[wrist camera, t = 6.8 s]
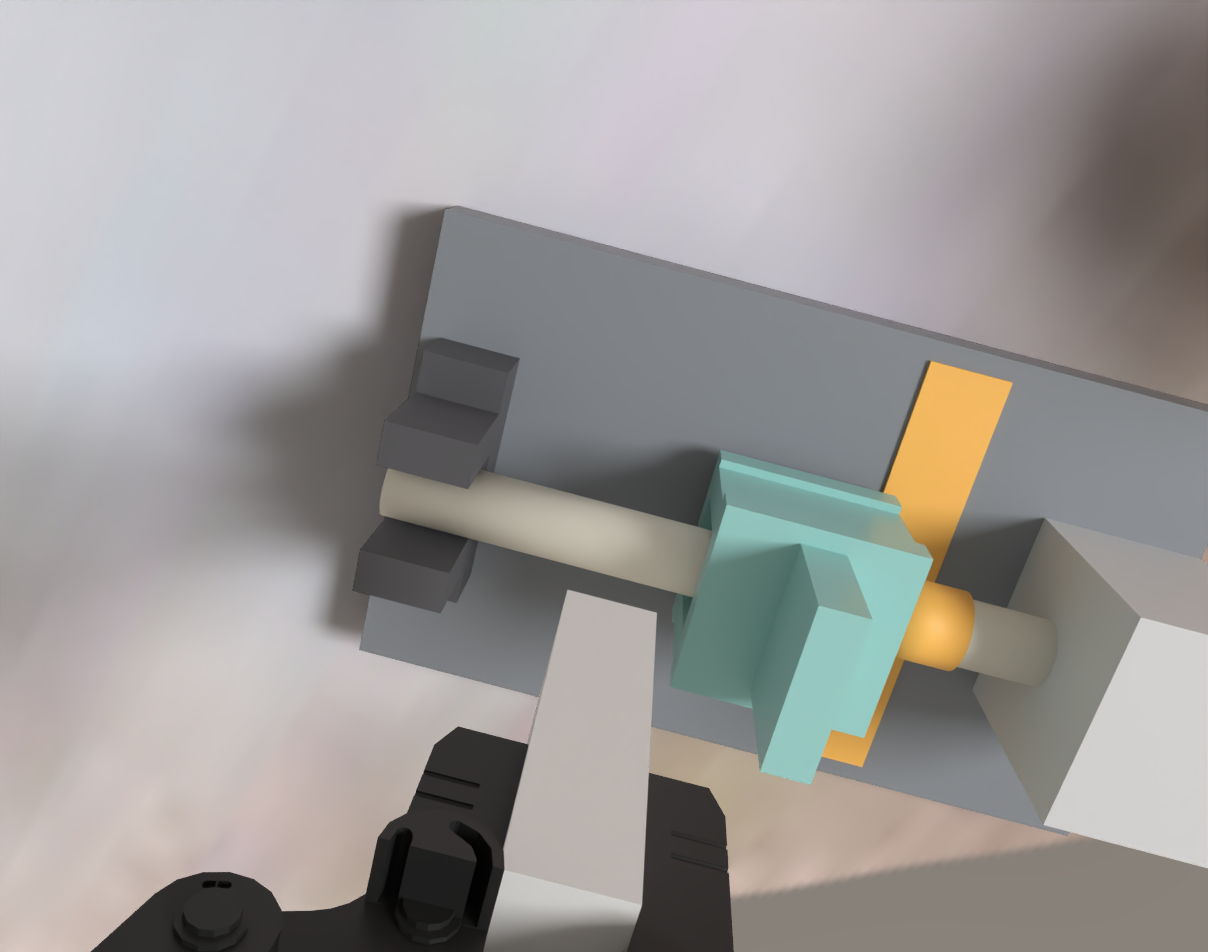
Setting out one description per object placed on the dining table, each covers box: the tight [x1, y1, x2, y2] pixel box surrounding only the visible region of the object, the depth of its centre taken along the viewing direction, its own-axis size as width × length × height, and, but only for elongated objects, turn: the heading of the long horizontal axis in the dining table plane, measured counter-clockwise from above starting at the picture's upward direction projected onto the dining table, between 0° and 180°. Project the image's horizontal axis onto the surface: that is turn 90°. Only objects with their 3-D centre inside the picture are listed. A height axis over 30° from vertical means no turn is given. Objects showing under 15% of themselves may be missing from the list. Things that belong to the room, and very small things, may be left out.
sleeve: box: [670, 450, 934, 785], centre depth 22 cm, size 4×4×7 cm
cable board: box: [352, 206, 1208, 868], centre depth 24 cm, size 12×20×7 cm, turn 76°
